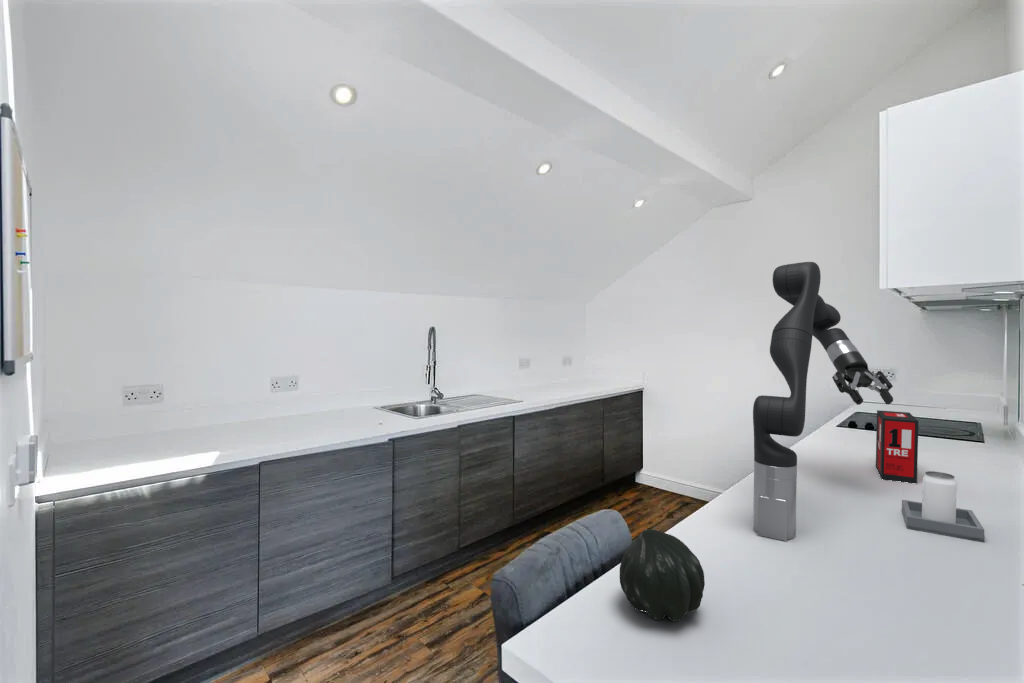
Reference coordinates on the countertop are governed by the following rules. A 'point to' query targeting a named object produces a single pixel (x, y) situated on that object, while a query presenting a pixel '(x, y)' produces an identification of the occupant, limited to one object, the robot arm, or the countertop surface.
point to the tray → (963, 527)
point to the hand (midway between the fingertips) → (875, 402)
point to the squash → (661, 576)
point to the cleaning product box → (897, 446)
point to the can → (939, 497)
